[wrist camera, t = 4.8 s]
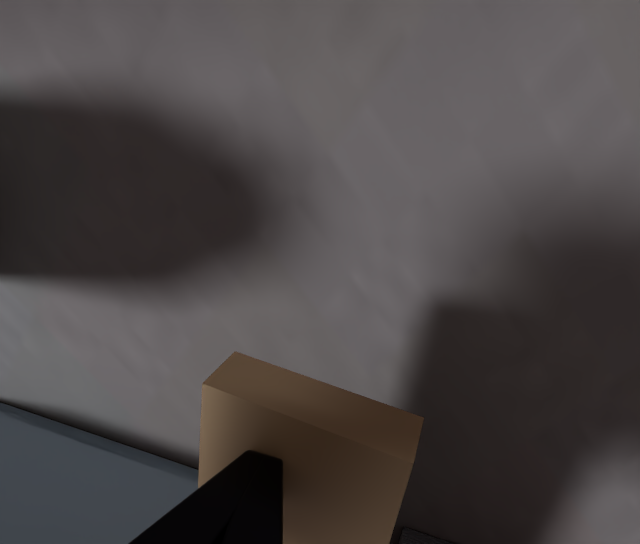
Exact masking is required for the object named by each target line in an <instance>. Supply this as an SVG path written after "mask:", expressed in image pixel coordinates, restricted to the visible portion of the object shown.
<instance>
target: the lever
mask: <svg viewBox="0 0 640 544" xmlns="http://www.w3.org/2000/svg"><path fill="white" fill-rule="evenodd" d="M423 420H424V417H421V416H418V415H415V414H412V413H409V412H407V411H404V410H401V409H398V408H395V407H392V406H389V405H387V404H384V403H381V402H378V401H375V400H372V399H369V398H367V397H364V396H361V395H358V394H355V393H352V392H349V391H347V390H344V389H341V388H338V387H335V386H332V385H329V384H327V383H324V382H321V381H318V380H315V379H312V378H310V377H307V376H304V375H301V374H298V373H295V372H292V371H290V370H287V369H284V368H281V367H278V366H275V365H272V364H270V363H267V362H264V361H261V360H258V359H255V358H252V357H250V356H247V355H244V354H241V353H238V352H234V353H233V354H232V355H231V356H230V357H229V358H228V359H227V360H226V361H225V362H224V363H223V364H222V365H221V366H220V367H219V368H218V369H217V370H216V371H215V372H214V373H212V374H211V375H210V376H209V377H208V378H207V379H206V380H205V381H204V382H203V383H202V404H201V428H200V451H199V475H198V488H199V487H201V486H202V485H203V484H204V483H206V482H207V481H208V480H209V479H211V478H212V477H213V476H214V475H216V474H217V473H218V472H220V471H221V470H222V469H223V468H225V467H226V466H227V465H228V464H230V463H231V462H232V461H234V460H235V459H236V458H237V457H239V456H240V455H241V454H242V453H244V452H245V451H247V450H254V451H257V452H260V453H264V454H267V455H270V456H274V457H277V458H280V459H282V460H283V544H389V542H390V539H391V535H392V532H393V529H394V526H395V522H396V519H397V516H398V513H399V510H400V506H401V503H402V500H403V497H404V493H405V490H406V487H407V484H408V480H409V477H410V474H411V471H412V467H413V464H414V460H415V455H416V451H417V447H418V442H419V438H420V434H421V429H422V425H423Z"/></svg>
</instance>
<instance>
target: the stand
mask: <svg viewBox="0 0 640 544" xmlns="http://www.w3.org/2000/svg"><path fill="white" fill-rule="evenodd" d="M398 544H453V543H450V542H447V541H444V540H441V539H438V538H435V537H432V536H429V535H426V534H423V533H420V532H417V531H414V530H411V529H408V528H405V527H403V530H402V533H401V537H400V540H399V543H398Z"/></svg>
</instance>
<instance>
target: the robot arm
mask: <svg viewBox="0 0 640 544" xmlns="http://www.w3.org/2000/svg"><path fill="white" fill-rule="evenodd" d="M128 544H283V460H282V459H280V458H277V457H274V456H270V455H267V454H264V453H260V452H257V451H254V450H247V451H245V452H244V453H242V454H241V455H240V456H239V457H237V458H236V459H235V460H234V461H232V462H231V463H230V464H228V465H227V466H226V467H225V468H223V469H222V470H221V471H220V472H218V473H217V474H216V475H214V476H213V477H212V478H211V479H209V480H208V481H207V482H206V483H204V484H203V485H202V486H201V487H199V488H198V489H197V490H195V491H194V492H193V493H192V494H190V495H189V496H188V497H187V498H185V499H184V500H183V501H181V502H180V503H179V504H178V505H176V506H175V507H174V508H173V509H171V510H170V511H169V512H167V513H166V514H165V515H164V516H162V517H161V518H160V519H159V520H157V521H156V522H155V523H153V524H152V525H151V526H150V527H148V528H147V529H146V530H145V531H143V532H142V533H141V534H139V535H138V536H137V537H136V538H134V539H133V540H132V541H131V542H129V543H128Z"/></svg>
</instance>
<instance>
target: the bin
mask: <svg viewBox="0 0 640 544" xmlns="http://www.w3.org/2000/svg"><path fill="white" fill-rule="evenodd" d="M198 475H199V470H197V469H194V468H191V467H188V466H185V465H182V464H179V463H176V462H173V461H170V460H167V459H164V458H162V457H159V456H156V455H153V454H150V453H147V452H144V451H141V450H138V449H135V448H132V447H129V446H126V445H123V444H121V443H118V442H115V441H112V440H109V439H106V438H103V437H100V436H97V435H94V434H91V433H88V432H85V431H82V430H80V429H77V428H74V427H71V426H68V425H65V424H62V423H59V422H56V421H53V420H50V419H47V418H44V417H41V416H39V415H36V414H33V413H30V412H27V411H24V410H21V409H18V408H15V407H12V406H9V405H6V404H3V403H0V544H128V543H129V542H131V541H132V540H133V539H134V538H136V537H137V536H138V535H139V534H141V533H142V532H143V531H145V530H146V529H147V528H148V527H150V526H151V525H152V524H153V523H155V522H156V521H157V520H159V519H160V518H161V517H162V516H164V515H165V514H166V513H167V512H169V511H170V510H171V509H173V508H174V507H175V506H176V505H178V504H179V503H180V502H181V501H183V500H184V499H185V498H187V497H188V496H189V495H190V494H192V493H193V492H194V491H195V490H197V489H198Z"/></svg>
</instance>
